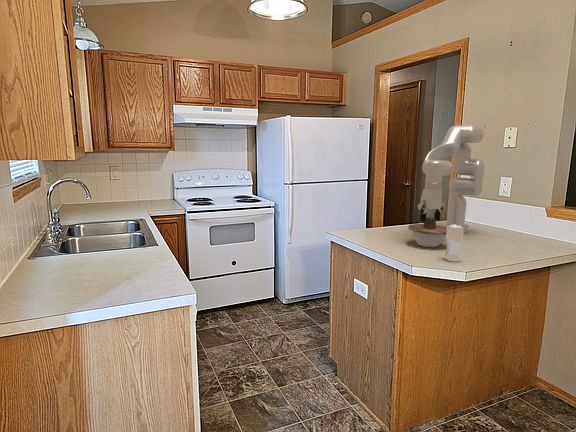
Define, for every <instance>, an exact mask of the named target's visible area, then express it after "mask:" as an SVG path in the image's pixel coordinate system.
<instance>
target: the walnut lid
mask: <svg viewBox="0 0 576 432" xmlns="http://www.w3.org/2000/svg"><path fill="white" fill-rule="evenodd" d="M407 227H408V230H409V231H412V232H413V231H415V232H420V233H427V234H445V235H446V229H447V227H445V226H442V225H439V224H438V225H437V220H436V219H435V218H434V217H431V216H430V217H429V216H428V217H427V216H426V222H423V223H413V224H409V225H408V226H407Z"/></svg>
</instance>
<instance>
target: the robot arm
mask: <svg viewBox="0 0 576 432" xmlns="http://www.w3.org/2000/svg"><path fill="white" fill-rule="evenodd" d="M484 135H485V132H484V129H483V128H482V127H481V126H478V125H468V124H467V125H464V124H463V125H452V126H451V127H450V128H448V130H447V132H446V134H445V136H444V138H443V141H442V142H441V144H440V145H438V146H436V147H435V148H433V149H432V150H430V151H429V152H428V153H427V154H426V156H425V159H424V160H423V163H422V167H421V169H422V172H423V174H425V182H424V188H423V190H422V192H421V193H422V194H421V198H420V202H419V204H417V209H418V212H419V214H420V215H419V221H420V222H423V223H424V222H426V218H427V212H428V211H432V210H433V211H434V213H433V214H434V215H433V216H434V217H433V218H435V219H436V222H437V221H438V222H439V221H441V215H442V214H441V213H442V212H443V209H444V207H445V203H444V202H443V201H442V198H443V193H442V192H443V191H442V186H443V184H442V183H443V177H446V176H449V175H451V174H452V173H454V174H455V175H458V176H467V177H453V178H451V179H450V180H449V181H448V204H447V205H448V207H447V217H446V227H447V225H460V226H463V227H464V228H463V235H464V234H466V233H467V230H466V229H467V228H469V227H470V225H469V224H465V220H466V212H467V211H466V210H467V199H466V198H465V197H464V196H475V197H476V196H480V195H481V193H482V191H483V184H484V175H485V162H484V161H483V160H482V159H478V158H471V157H472V147H471V145H469V144H479V143H481V142H482V141H483V139H484ZM453 155H454V158H453V163H452V162H451V161H450V160H443V159H444V158H447V157H451V156H453ZM469 176H471V177H472V178H470V177H469Z"/></svg>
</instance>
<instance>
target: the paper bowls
mask: <svg viewBox="0 0 576 432" xmlns="http://www.w3.org/2000/svg"><path fill="white" fill-rule="evenodd" d="M411 237H412V239H413V240H415V242H416V244H417V245H418V246H420V247H423V248H436V247H438V246H440V244H441V243H444V242H445V241H446V239H445V237H446V234H427V233H420V232H415V231H412V236H411Z"/></svg>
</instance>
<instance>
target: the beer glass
mask: <svg viewBox="0 0 576 432" xmlns="http://www.w3.org/2000/svg"><path fill="white" fill-rule="evenodd" d="M463 228H464V227H463V226H460V225H447V229H446V234H445V249H446V250H445V255H444V260H446V261H448V262H453V263H455V262H460V250H461V247H462V243H463V240H464V234H463Z"/></svg>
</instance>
